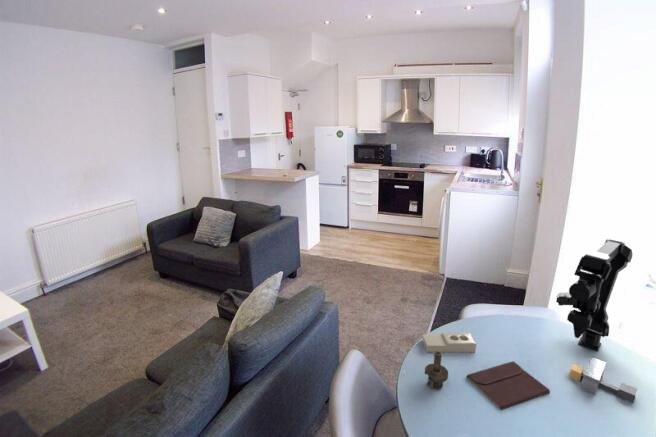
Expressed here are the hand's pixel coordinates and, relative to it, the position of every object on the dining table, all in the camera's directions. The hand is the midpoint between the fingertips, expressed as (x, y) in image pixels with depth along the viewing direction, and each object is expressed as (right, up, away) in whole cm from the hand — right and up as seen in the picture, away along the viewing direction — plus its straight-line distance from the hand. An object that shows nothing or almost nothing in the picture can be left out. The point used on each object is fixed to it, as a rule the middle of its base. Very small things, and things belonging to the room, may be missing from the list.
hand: (579, 332), depth 129 cm
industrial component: (-53, -15, -8) cm, 56 cm away
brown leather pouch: (-29, -15, -8) cm, 34 cm away
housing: (-1, -14, -7) cm, 16 cm away
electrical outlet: (-42, -9, +12) cm, 44 cm away
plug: (+1, -15, -8) cm, 17 cm away
